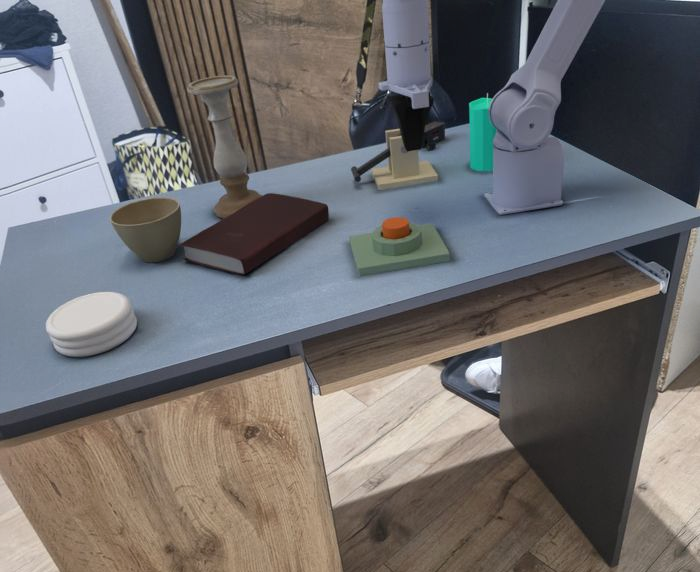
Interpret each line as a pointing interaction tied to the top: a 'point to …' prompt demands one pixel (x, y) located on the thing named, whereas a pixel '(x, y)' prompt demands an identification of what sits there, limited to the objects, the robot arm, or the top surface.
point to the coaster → (91, 324)
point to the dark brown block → (433, 134)
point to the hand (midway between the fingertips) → (413, 149)
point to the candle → (481, 135)
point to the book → (255, 233)
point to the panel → (398, 250)
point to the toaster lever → (370, 164)
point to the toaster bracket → (402, 166)
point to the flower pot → (149, 227)
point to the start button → (395, 228)
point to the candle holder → (225, 144)
